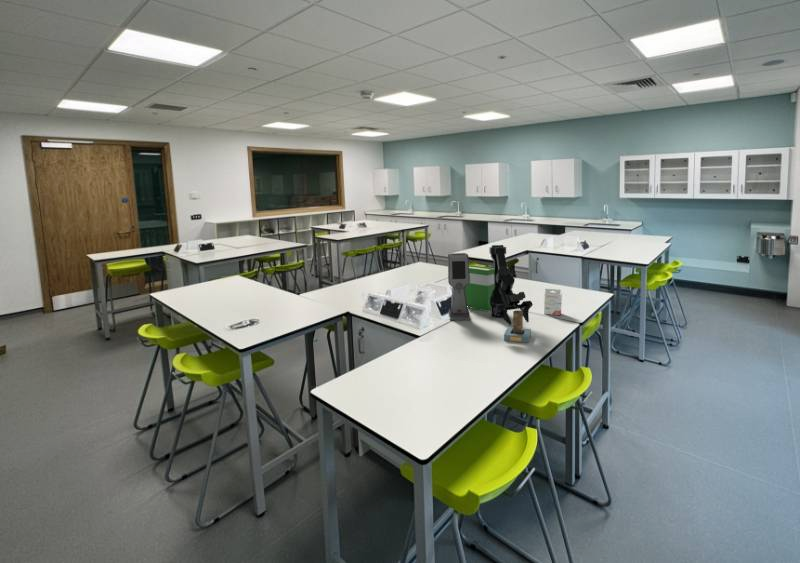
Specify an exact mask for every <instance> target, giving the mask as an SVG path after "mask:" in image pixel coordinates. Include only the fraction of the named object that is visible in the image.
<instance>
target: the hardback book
mask: <svg viewBox="0 0 800 563" xmlns="http://www.w3.org/2000/svg"><path fill="white" fill-rule="evenodd" d="M469 274H470V283H469V284H468V285H467V286H466V299H467V306H468V308H470V307H472V308H471V309H475V308H476V309H475V310H480V309H481V310H480V311H484V310H486V312H489V311H492V310H491V309H492V306H490V297H491V296H492V291H493V289H494V267H487V266H480V265H479V266H478V265H471V264H469Z"/></svg>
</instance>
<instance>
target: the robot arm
mask: <svg viewBox="0 0 800 563" xmlns="http://www.w3.org/2000/svg"><path fill="white" fill-rule="evenodd" d="M488 253H489V255H490V258H491V259H492V261H493V268H494V289H493V291H492V296H491V297H490V306H492V310H491V315H490V317H491V318H499V319H500V318H501V319H502V320H503V321H505V322H506V323H507V324H508V325H509V326H511V325H512V320H511V318H510V316H509V314H508V311H511V310H513V311H514V310H518V309H520V310H519V311H523V319H524V320H525V321H526V323H529V321H530V318H529V312H530V309H531V308H532V306H533V305H534V304H533V302H532V301H531V300H524V299H526V293H525V292H524V291H519V292H518V293H516V292H515V293H514V291H513V287H514V284H515V278H514V276H513V274H512V273H511V270H510V269H509V268H508V265H507V259H506V255H507V246H504V244H493V245H491V246H490V247H489V252H488ZM521 301H522V302H521ZM520 302H521V303H520Z"/></svg>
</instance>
